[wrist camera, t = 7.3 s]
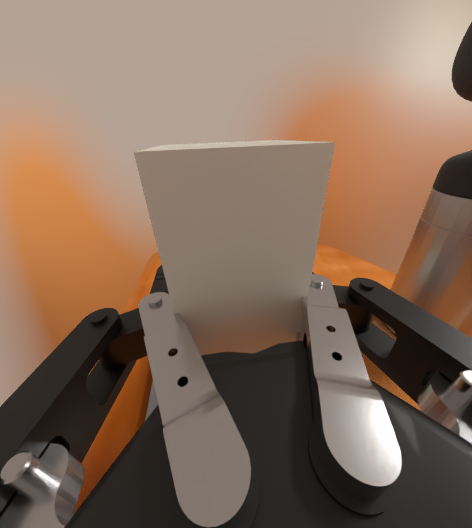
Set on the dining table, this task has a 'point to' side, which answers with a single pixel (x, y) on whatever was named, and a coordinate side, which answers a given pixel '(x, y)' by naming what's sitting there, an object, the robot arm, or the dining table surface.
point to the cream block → (237, 235)
